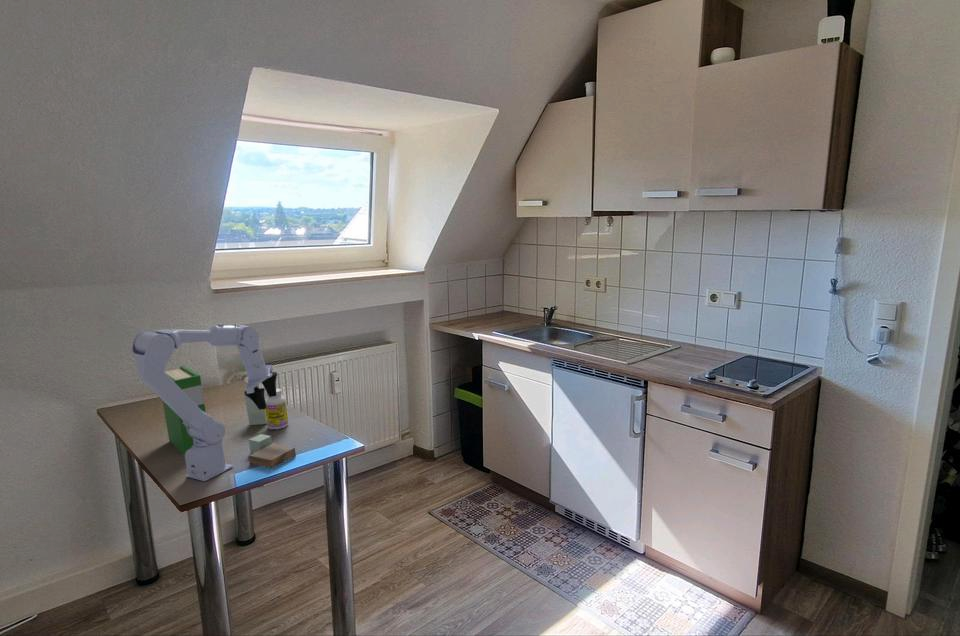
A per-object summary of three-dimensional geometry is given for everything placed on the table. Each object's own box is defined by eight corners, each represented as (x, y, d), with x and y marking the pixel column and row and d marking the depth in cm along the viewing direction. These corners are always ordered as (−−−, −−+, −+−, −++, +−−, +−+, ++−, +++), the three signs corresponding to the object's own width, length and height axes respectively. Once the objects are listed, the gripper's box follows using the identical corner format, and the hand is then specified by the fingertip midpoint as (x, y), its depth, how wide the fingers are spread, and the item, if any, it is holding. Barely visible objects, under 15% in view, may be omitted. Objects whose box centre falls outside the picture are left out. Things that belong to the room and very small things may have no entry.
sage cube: (261, 455, 166) (259, 441, 165) (250, 453, 168) (248, 439, 167) (272, 449, 169) (271, 436, 169) (262, 447, 171) (260, 434, 171)
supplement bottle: (266, 431, 184) (262, 394, 182) (268, 424, 191) (264, 388, 188) (287, 428, 186) (283, 392, 184) (289, 421, 192) (284, 386, 190)
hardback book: (169, 441, 180) (157, 370, 175) (193, 434, 185) (183, 365, 180) (185, 457, 167) (173, 381, 162) (211, 449, 172) (200, 375, 167)
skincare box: (270, 420, 195) (266, 387, 192) (266, 424, 190) (262, 391, 188) (252, 421, 194) (248, 388, 192) (248, 426, 190) (243, 392, 188)
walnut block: (272, 470, 156) (271, 460, 156) (250, 465, 160) (248, 455, 160) (296, 457, 164) (294, 447, 164) (274, 452, 168) (272, 443, 168)
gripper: (256, 372, 158) (270, 413, 163) (276, 351, 171) (289, 389, 176) (233, 375, 159) (248, 416, 164) (254, 353, 172) (268, 391, 177)
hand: (268, 402), depth 170 cm, fingers open, 7 cm apart
